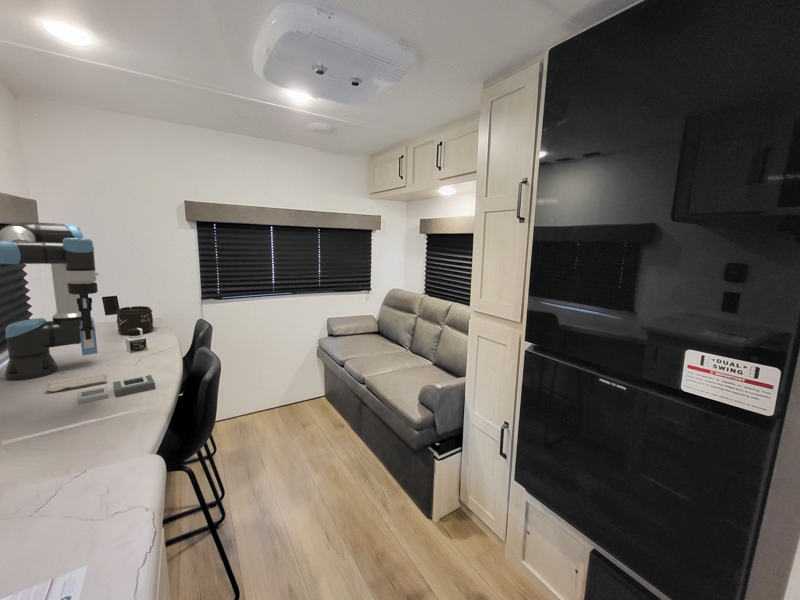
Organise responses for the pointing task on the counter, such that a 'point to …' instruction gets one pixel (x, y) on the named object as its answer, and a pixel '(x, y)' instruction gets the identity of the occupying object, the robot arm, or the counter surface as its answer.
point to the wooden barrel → (134, 319)
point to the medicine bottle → (135, 341)
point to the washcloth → (75, 383)
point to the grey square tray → (92, 395)
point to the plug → (86, 350)
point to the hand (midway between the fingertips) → (89, 345)
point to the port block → (133, 385)
